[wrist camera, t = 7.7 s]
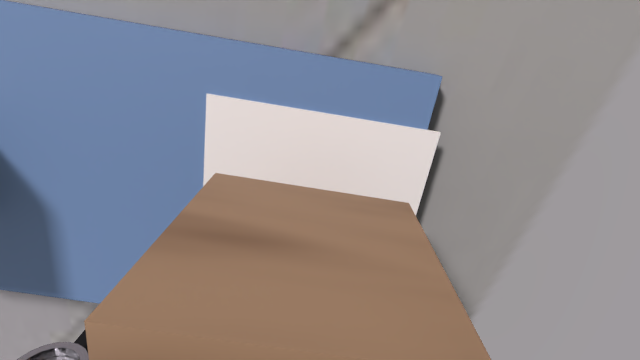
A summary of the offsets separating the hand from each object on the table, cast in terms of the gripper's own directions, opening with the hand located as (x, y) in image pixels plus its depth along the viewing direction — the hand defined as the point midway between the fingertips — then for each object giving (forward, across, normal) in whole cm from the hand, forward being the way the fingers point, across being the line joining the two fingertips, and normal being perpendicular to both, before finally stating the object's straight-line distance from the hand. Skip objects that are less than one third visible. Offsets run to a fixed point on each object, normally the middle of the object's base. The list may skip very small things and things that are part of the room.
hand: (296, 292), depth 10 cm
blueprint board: (+6, +8, 0) cm, 10 cm away
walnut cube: (+1, 0, 0) cm, 1 cm away
